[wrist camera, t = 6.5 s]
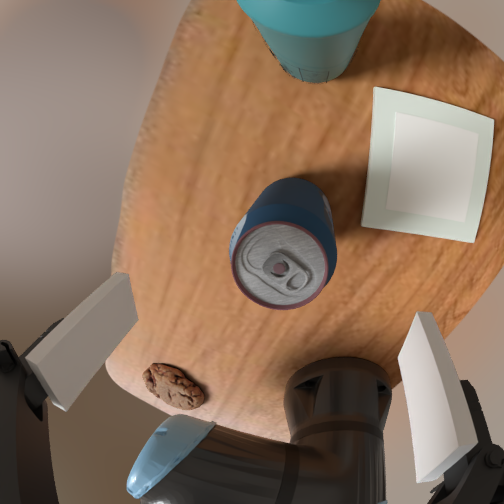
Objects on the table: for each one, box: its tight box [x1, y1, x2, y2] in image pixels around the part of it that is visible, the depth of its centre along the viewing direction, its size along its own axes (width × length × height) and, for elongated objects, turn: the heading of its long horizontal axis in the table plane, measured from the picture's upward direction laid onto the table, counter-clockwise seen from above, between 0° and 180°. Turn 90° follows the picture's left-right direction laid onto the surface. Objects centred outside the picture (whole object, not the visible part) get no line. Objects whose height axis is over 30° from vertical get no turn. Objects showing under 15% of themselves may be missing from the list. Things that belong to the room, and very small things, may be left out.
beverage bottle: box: [237, 0, 381, 84], centre depth 12 cm, size 6×7×20 cm
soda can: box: [229, 178, 337, 310], centre depth 22 cm, size 7×7×12 cm
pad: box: [361, 87, 494, 243], centre depth 22 cm, size 13×13×1 cm
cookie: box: [142, 364, 204, 410], centre depth 42 cm, size 10×11×3 cm
